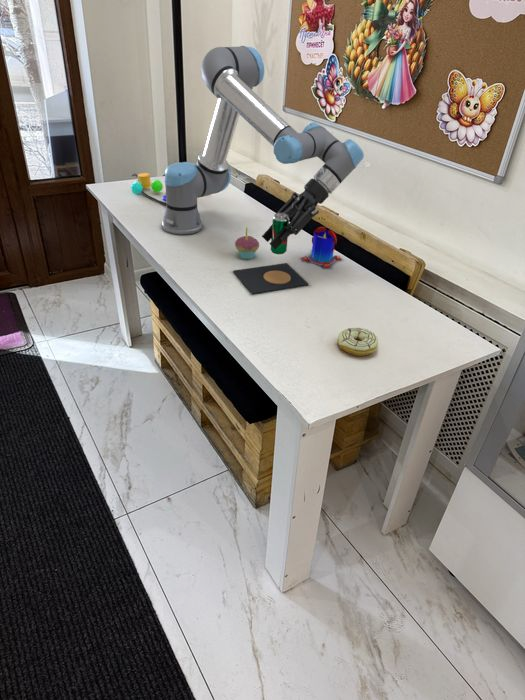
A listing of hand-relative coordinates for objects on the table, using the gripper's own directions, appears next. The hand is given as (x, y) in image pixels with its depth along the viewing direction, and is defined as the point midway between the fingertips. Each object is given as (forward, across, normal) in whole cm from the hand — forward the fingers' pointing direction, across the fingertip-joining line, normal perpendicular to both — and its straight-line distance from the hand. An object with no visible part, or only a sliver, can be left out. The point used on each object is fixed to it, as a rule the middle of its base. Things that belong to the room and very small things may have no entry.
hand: (268, 242), depth 158 cm
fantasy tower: (-9, -9, +28) cm, 31 cm away
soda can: (0, 0, +5) cm, 5 cm away
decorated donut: (+4, +42, +15) cm, 45 cm away
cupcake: (+9, -19, +10) cm, 23 cm away
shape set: (+14, -86, +4) cm, 87 cm away
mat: (+8, -1, +11) cm, 14 cm away
